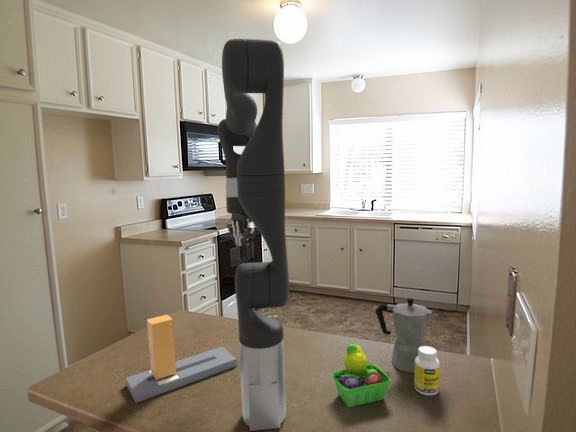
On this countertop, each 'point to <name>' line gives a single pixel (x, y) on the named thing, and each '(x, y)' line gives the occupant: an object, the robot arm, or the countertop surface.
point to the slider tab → (161, 346)
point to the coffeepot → (406, 331)
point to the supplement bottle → (427, 371)
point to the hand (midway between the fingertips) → (242, 259)
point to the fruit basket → (360, 379)
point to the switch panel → (180, 374)
